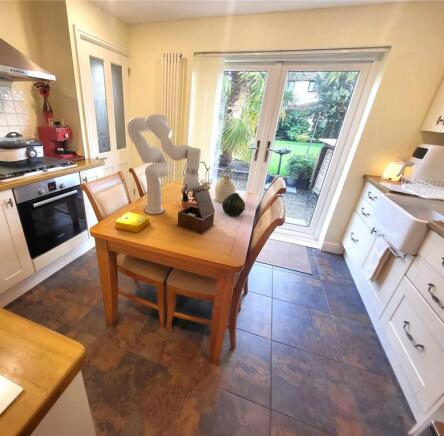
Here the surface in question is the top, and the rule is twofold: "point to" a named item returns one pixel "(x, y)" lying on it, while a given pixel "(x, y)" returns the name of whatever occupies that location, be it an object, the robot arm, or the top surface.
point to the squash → (233, 204)
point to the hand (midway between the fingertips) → (189, 199)
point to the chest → (194, 220)
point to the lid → (203, 200)
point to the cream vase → (224, 187)
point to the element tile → (132, 222)
